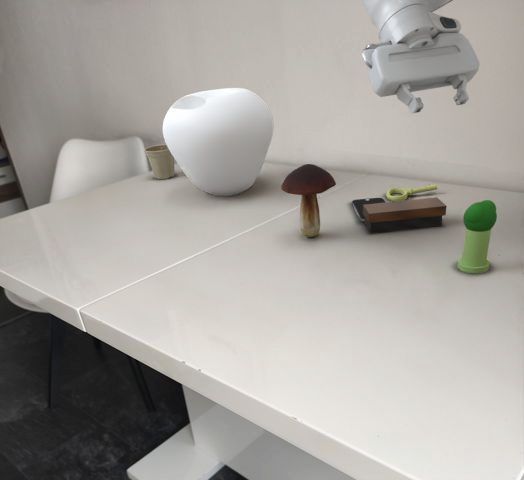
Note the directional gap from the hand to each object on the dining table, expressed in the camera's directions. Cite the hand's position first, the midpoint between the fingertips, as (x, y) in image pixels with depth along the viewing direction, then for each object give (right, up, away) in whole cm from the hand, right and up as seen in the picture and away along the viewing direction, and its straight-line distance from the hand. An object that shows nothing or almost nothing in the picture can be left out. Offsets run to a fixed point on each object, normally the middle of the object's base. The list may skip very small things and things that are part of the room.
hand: (441, 106), depth 92 cm
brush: (0, -15, +24) cm, 28 cm away
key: (+5, -4, +40) cm, 40 cm away
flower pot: (-61, +12, +75) cm, 97 cm away
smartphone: (-5, -10, +32) cm, 34 cm away
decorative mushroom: (-20, -18, +23) cm, 35 cm away
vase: (-40, +2, +56) cm, 69 cm away
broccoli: (+7, -27, +4) cm, 28 cm away
